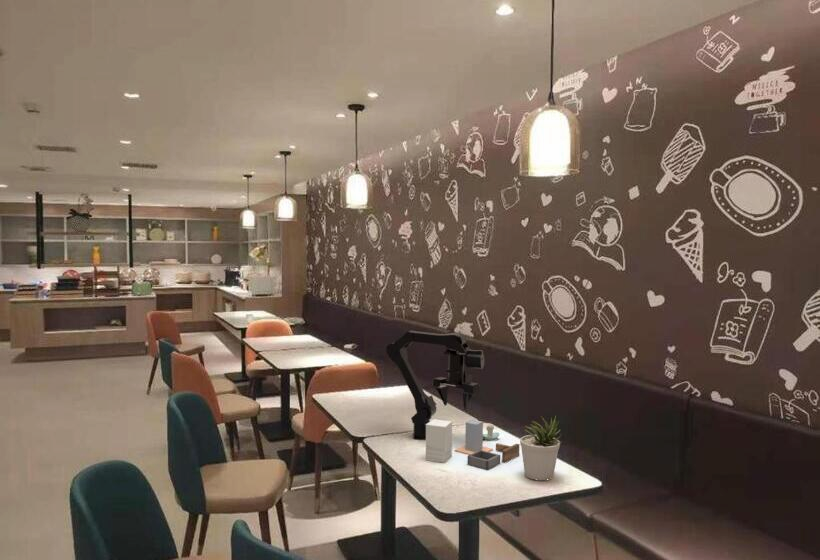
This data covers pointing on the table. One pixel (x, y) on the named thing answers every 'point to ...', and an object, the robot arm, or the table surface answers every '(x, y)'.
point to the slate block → (474, 435)
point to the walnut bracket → (508, 451)
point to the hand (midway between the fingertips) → (455, 407)
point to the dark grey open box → (483, 459)
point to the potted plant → (540, 451)
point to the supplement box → (439, 440)
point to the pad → (462, 450)
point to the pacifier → (490, 433)
